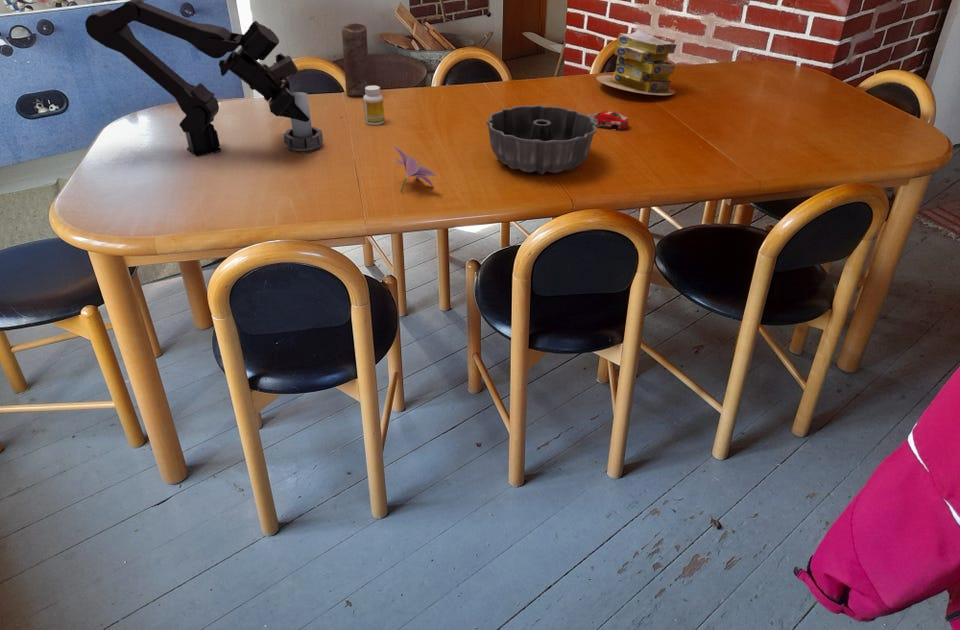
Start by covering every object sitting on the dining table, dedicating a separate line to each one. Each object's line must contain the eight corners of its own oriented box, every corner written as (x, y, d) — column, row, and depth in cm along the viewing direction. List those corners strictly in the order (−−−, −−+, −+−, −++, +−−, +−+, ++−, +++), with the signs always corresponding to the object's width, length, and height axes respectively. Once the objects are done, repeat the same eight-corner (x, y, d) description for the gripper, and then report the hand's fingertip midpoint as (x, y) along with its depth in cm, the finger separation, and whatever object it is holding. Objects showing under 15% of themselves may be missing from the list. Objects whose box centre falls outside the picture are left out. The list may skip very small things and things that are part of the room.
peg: (300, 147, 175) (293, 99, 168) (290, 141, 178) (283, 94, 171) (317, 142, 177) (311, 95, 170) (307, 137, 180) (301, 91, 173)
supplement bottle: (361, 121, 194) (358, 86, 188) (377, 117, 197) (375, 83, 191) (371, 126, 190) (369, 91, 185) (388, 122, 193) (386, 88, 188)
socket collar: (297, 155, 173) (295, 141, 171) (280, 145, 178) (278, 131, 176) (329, 147, 178) (327, 133, 176) (311, 137, 183) (309, 124, 181)
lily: (438, 204, 153) (450, 161, 152) (387, 189, 148) (399, 145, 147) (422, 198, 164) (433, 158, 163) (374, 185, 159) (385, 143, 158)
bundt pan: (563, 136, 186) (566, 99, 180) (613, 173, 166) (618, 132, 160) (470, 149, 178) (470, 110, 172) (512, 189, 158) (513, 147, 152)
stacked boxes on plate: (639, 76, 234) (646, 23, 225) (691, 95, 217) (701, 39, 207) (580, 85, 224) (584, 31, 215) (629, 107, 207) (636, 49, 197)
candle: (373, 91, 217) (368, 23, 205) (368, 99, 211) (362, 29, 199) (349, 90, 217) (343, 22, 206) (343, 97, 211) (336, 28, 200)
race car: (577, 126, 194) (579, 112, 191) (583, 120, 198) (584, 106, 195) (624, 133, 189) (626, 118, 187) (629, 126, 193) (631, 112, 191)
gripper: (277, 56, 156) (332, 101, 165) (270, 37, 170) (321, 79, 179) (246, 94, 158) (302, 136, 167) (242, 72, 173) (294, 112, 182)
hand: (306, 114), depth 174 cm, fingers open, 9 cm apart
